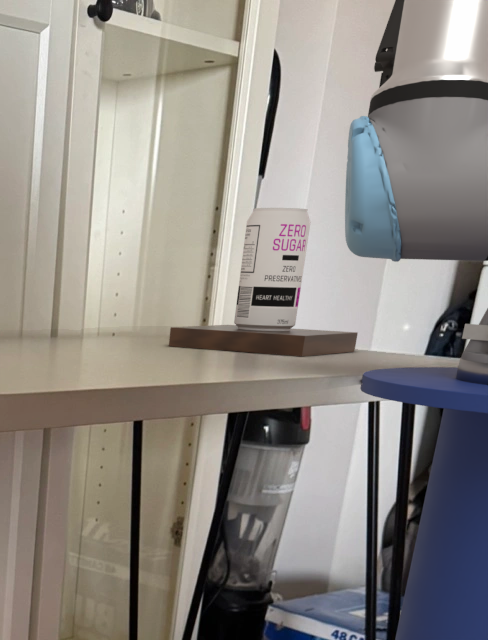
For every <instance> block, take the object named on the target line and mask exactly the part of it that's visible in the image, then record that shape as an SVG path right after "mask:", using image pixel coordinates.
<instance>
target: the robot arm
mask: <svg viewBox="0 0 488 640" xmlns="http://www.w3.org/2000/svg"><path fill="white" fill-rule="evenodd" d="M381 37H382V38H381V40H380V43H379V45H378V48H377V52H376V54H375V62H374V66H373V70H374V72H375V73H378V72H379V73H380V72H381V74H380V80H379V87H378V88H377V89H376V90H375V91H374V92H373V93H372V94H371V97H370V101H369V108H368V113H367V115H361V116H360V117H358V118H355V119H353V120H352V121H351V123H350V125H349V130H348V139H347V158H346V160H347V162H346V171H345V172H346V174H345V193H344V194H345V196H344V200H345V201H344V235H345V237H344V238H345V243H346V246H347V248H348V250H349V251H350V252H351V253H352V254H353V255H355V256H357V257H360V258H369V259H382V260H383V259H384V260H391V261H392V262H395V263H398V262H400V261H401V260H429V261H433V260H434V261H437V260H438V261H468V262H469V261H470V262H471V261H472V262H488V0H395V1H394V3H393V6H392V9H391V11H390V14H389V18H388V20H387V24H386V26H385V29H384V32H383V34H382V36H381ZM461 336H462V337H461V339H462V340H469V341H468V343H467V344H466V346H465V349H464V350H463V352H462V354H461V357H460V358H459V360H458V365H457V368H458V370H457V374H456V378H457V379H458V380H461V381H466V382H471V383H477V384H484V385H488V307H487V308H486V310H485V312H484V314H483V316H482V318H481V320H480V321H479V323H478V324H477V323H476V324H475V323H465V324H464V328H463V332H462V335H461Z"/></svg>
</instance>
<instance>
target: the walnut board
mask: <svg viewBox="0 0 488 640" xmlns="http://www.w3.org/2000/svg"><path fill="white" fill-rule="evenodd" d="M358 333H359V332H358V331H357V332H356V331H355V332H354V331H341V330H339V331H338V330H326V329H325V330H323V329H307V328H290V331H254V330H242V329H238V326H237V325H236V324H213V325H192V326H189V325H188V326H171V327H170V330H169V338H168V347H175V348H188V349H199V350H200V349H201V350H212V351H213V350H214V351H225V352H226V351H227V352H239V353H251V354H265V355H276V356H277V355H278V356H290V357H311V356H312V357H313V356H321V355H322V356H323V355H332V354H333V355H334V354H343V353H344V354H345V353H354V352H355V350H356V344H357V339H358Z"/></svg>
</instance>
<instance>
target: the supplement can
mask: <svg viewBox="0 0 488 640" xmlns="http://www.w3.org/2000/svg"><path fill="white" fill-rule="evenodd" d="M311 222H312V221H311V219H310V216H309V213H308V209H306V208H301V207H299V208H298V207H257V208H256V207H255V208H253V209H252V213H251V214H250V216H249V217H248V219H247V221H246V227H245V234H244V242H243V243H244V244H243V249H242V250H243V251H242V256H241V265H240V273H239V281H238V289H237V290H238V291H237V297H236V305H235V306H236V307H235V313H234V321H233V324H234V325H237V326H238V329H242V330H254V331H290V328H291V329H293V327H295V326H296V323H297V322H296V321H297V314H298V308H299V301H300V296H301V289H302V282H303V274H304V269H305V262H306V256H307V248H308V243H309V242H308V241H309V235H310V230H311Z"/></svg>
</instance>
